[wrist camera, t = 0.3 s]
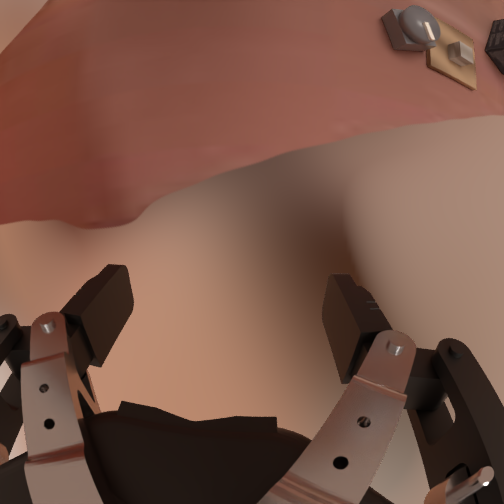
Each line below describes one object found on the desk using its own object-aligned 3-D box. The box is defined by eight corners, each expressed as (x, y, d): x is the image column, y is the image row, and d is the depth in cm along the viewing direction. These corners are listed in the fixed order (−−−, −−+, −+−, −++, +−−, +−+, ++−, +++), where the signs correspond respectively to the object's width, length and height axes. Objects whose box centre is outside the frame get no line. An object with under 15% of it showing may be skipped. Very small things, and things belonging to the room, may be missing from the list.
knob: (381, 17, 25) (401, 1, 19) (411, 20, 25) (433, 7, 18) (394, 49, 28) (417, 38, 21) (423, 51, 27) (448, 42, 20)
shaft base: (423, 14, 24) (437, 7, 19) (468, 40, 24) (484, 36, 20) (426, 66, 28) (443, 62, 24) (472, 90, 28) (489, 89, 24)
